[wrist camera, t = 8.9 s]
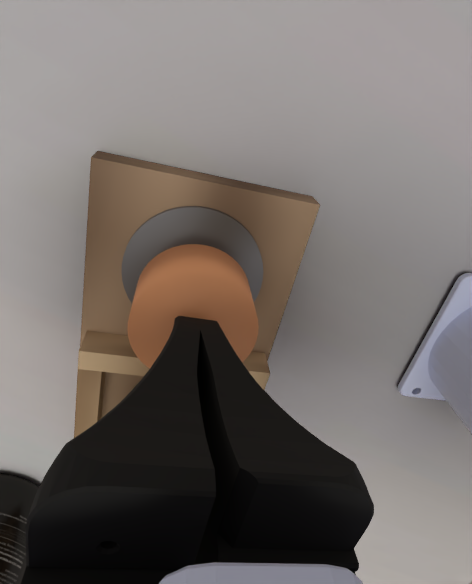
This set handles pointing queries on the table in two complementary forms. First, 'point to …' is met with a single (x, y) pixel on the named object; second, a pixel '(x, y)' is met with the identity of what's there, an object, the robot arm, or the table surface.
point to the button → (191, 299)
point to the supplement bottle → (14, 526)
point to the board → (164, 235)
